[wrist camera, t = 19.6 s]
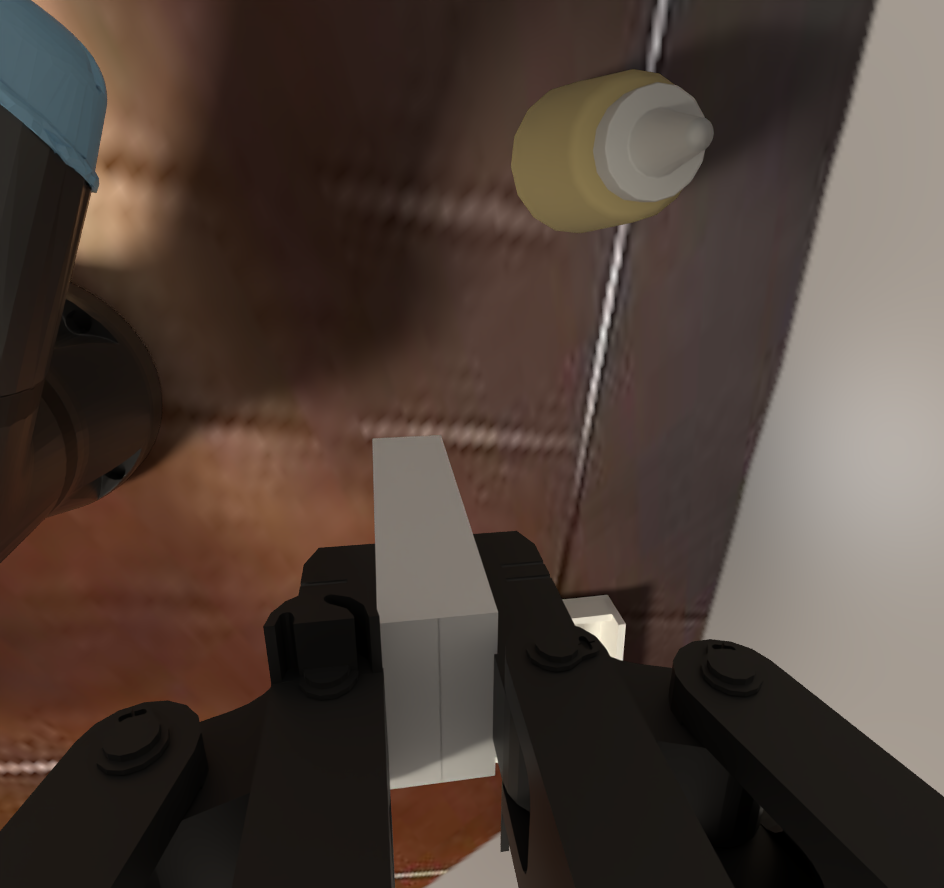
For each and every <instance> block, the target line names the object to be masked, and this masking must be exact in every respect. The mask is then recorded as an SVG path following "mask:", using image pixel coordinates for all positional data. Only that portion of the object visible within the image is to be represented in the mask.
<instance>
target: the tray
mask: <svg viewBox="0 0 944 888" xmlns="http://www.w3.org/2000/svg"><path fill="white" fill-rule="evenodd" d="M563 602H564V604H565V606H566V608H567V610H568V612H569V614H570V616H571V618H572V620H573V622H574V624H575V626H578V627H581V628H583V629H584V630H586V631H588V632H590V633H591V634H593V635H595V636H596V637H597V638H598V639H599V641H600V642H601V643H602V644H603V645H604V646H605V648H606V649H607V651H608V653H609V655H610V656H611V657H613V658H616V659H619V660H622V661H623V651H624V640H625V629H626V623H625V622H624V620H623V619H622V617H621V615H620V614H619V612H618V611H617V609H616V607H615V606H614V604H613V603H612V601H611V599H610V598H609V596H608V595H600V596H591V597H581V598H572V599H563ZM497 762H498V760H497V755H496V751H495V763H497Z"/></svg>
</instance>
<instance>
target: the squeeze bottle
mask: <svg viewBox="0 0 944 888" xmlns="http://www.w3.org/2000/svg"><path fill="white" fill-rule="evenodd" d="M713 135H714V131H713V126H712V124H711V122H710V121H709V120H707V119H706V118H705V117H704V115H703V113H702V111H701V110H700V108H699V106H698V104H697V102H696V100H695V99H694V97H692V96H691V95H690V94H688V93H687V92H686V91H684V90H683V89H682V88H680V87H679V86H678V85H674V84H673V83H672V82H670V81H669V80H668V79H666V78H665V77H663V76H662V75H661V74H659V73H653V72H647V71H641V70H635V69H632V70H627V71H623V72H619V73H614V74H610V75H605V76H601V77H596V78H592V79H587V80H583V81H578V82H575V83H572V84H568V85H565V86H562V87H559V88H555V89H552V90H550V91H549V92H548V93H546V94H545V95H544V96H543V97H542V98H541V99H540V100H538V101H537V102H536V103H535V104H534V105H533V106H532V107H530V108H529V109H528V111H527V113H526V115H525V117H524V119H523V121H522V123H521V125H520V127H519V129H518V131H517V133H516V135H515V137H514V145H513V154H512V162H511V169H512V173H513V177H514V181H515V185H516V190H517V194H518V196H519V197H520V199H521V200H522V202H523V203H524V204H525V206H526V207H527V209H528V210H529V211H530V213H531V214H532V216H533V217H534V218H536V219H537V220H539V221H541V222H542V223H544V224H546V225H547V226H549V227H551V228H552V229H554V230H556V231H565V232H574V233H584V232H588V231H593V230H598V229H603V228H608V227H613V226H618V225H623V224H627V223H632V222H635V221H639V220H642V219H645V218H648V217H651V216H654V215H657V214H658V213H659V212H660V211H662V210H663V209H664V208H665V207H666V206H668V205H669V204H670V203H671V202H672V201H674V200H675V199H676V198H677V197H678V196H679V194H680V192H681V191H682V189H683V188H684V187H685V186H687V185H688V184H689V183H690V182H691V181H692V179H693V177H694V176H695V174H696V172H697V171H698V169H699V167H700V166H701V164H702V162H703V157H704V153H705V149H706V148H707V147H708V146H709V145H710V143H711V142H712V140H713Z"/></svg>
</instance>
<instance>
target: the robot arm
mask: <svg viewBox="0 0 944 888" xmlns="http://www.w3.org/2000/svg"><path fill="white" fill-rule="evenodd" d="M106 107H107V91H106V85H105V81H104V78H103V75H102V73H101V71H100V68H99V67H98V65H97V63H96V62H95V60H94V58H93V56H92V55H91V54H90V52H89V51H88V50H87V49H86V48H85V46H84V45H83V44H82V43H81V42H80V41H79V40H78V39H77V38H76V37H75V36H74V35H73V34H72V33H71V32H70V31H69V30H68V29H67V28H65V27H64V26H63V25H62V24H61V23H60V22H58V21H57V20H56V19H55V18H54V17H52V16H51V15H50V14H48V13H47V12H46V11H45V10H43V9H42V8H41V7H39V6H38V5H37V4H35V3H34V2H33V1H31V0H0V563H1V562H2V561H3V560H4V559H5V558H6V557H7V556H8V555H9V554H10V553H11V552H12V551H13V550H14V549H15V548H16V547H17V546H18V545H19V544H20V543H21V542H22V541H23V540H24V539H25V538H26V537H27V536H28V535H29V534H30V533H31V532H32V531H33V530H34V529H35V528H36V527H37V526H38V525H39V524H40V523H41V522H42V521H43V520H44V519H45V518H47V517H50V516H54V515H57V514H60V513H63V512H67V511H70V510H73V509H77V508H80V507H83V506H85V505H88V504H90V503H93V502H95V501H97V500H99V499H101V498H102V497H104V496H106V495H108V494H109V493H111V492H112V491H113V490H115V489H116V488H118V487H119V486H120V485H121V484H122V483H124V482H125V481H126V480H127V479H128V478H129V477H130V475H131V474H132V473H133V472H134V471H135V470H136V469H137V467H138V466H139V465H140V464H141V463H142V462H143V460H144V459H145V458H146V456H147V455H148V453H149V452H150V450H151V448H152V446H153V444H154V442H155V440H156V437H157V434H158V431H159V427H160V423H161V416H162V394H161V387H160V383H159V378H158V375H157V372H156V369H155V366H154V364H153V361H152V359H151V357H150V355H149V353H148V351H147V350H146V348H145V346H144V344H143V343H142V341H141V340H140V339H139V337H138V336H137V334H136V333H135V332H134V331H133V329H132V328H131V327H130V326H129V325H128V324H127V323H126V321H125V320H124V319H123V318H122V317H121V316H120V315H119V314H118V313H116V312H115V311H114V310H113V309H112V308H111V307H109V306H108V305H107V304H105V303H104V302H103V301H101V300H100V299H98V298H97V297H95V296H94V295H92V294H91V293H89V292H87V291H85V290H84V289H82V288H80V287H78V286H76V285H74V284H71V283H70V279H71V275H72V271H73V267H74V263H75V258H76V254H77V250H78V246H79V242H80V238H81V233H82V229H83V225H84V221H85V217H86V213H87V208H88V204H89V200H90V196H91V192H93V193H97V190H98V187H99V177H98V176H97V174H96V172H95V168H96V163H97V157H98V151H99V145H100V140H101V135H102V129H103V124H104V118H105V113H106ZM373 477H374V516H375V544H364V545H351V546H338V547H324V548H318V549H317V551H316V552H315V553H314V554H313V555H312V556H311V557H310V558H309V559H308V561H307V562H306V563H305V564H304V567H303V573H302V578H301V587H300V590H299V596H297V597H295V598H292V599H290V600H288V601H285V602H284V603H283V604H282V605H280V606H279V607H278V608H277V609H275V610H274V611H273V612H272V613H271V614H270V616H269V617H268V619H267V621H266V623H265V625H264V626H263V628H264V635H265V642H266V649H267V656H268V663H269V670H270V678H271V688H270V689H269V690H268V691H267V692H265V693H264V694H263V695H262V696H260V697H258V698H257V699H255V700H254V701H252V702H250V703H249V704H247V705H244V706H242V707H240V708H237V709H235V710H233V711H230V712H227V713H225V714H222V715H219V716H216V717H213V718H210V719H207V720H204V721H201V722H199V717H198V715H197V714H196V713H195V712H193V711H192V710H191V709H190V708H189V707H188V706H187V705H184V704H179V703H175V702H171V701H156V702H144V703H141V704H138V705H135V706H132V707H129V708H126V709H122V710H119V711H117V712H116V713H114V714H112V715H110V716H109V717H107V718H105V719H103V720H102V721H100V722H98V723H96V724H95V725H94V726H92V727H91V728H90V729H89V730H88V731H87V732H86V733H85V734H84V735H83V736H82V737H80V738H79V739H78V740H77V741H76V742H75V743H74V744H73V745H72V747H71V748H70V749H69V750H68V751H67V753H66V754H65V755H64V756H63V757H62V759H61V760H60V761H59V762H58V763H57V764H56V766H55V767H54V768H53V769H52V770H51V772H50V773H49V774H48V775H47V776H46V778H45V779H44V780H43V781H42V782H41V783H40V785H39V786H38V787H37V788H36V789H35V791H34V792H33V793H32V794H31V795H30V797H29V798H28V799H27V800H26V801H25V802H24V804H23V805H22V806H21V807H20V808H19V810H18V811H17V812H16V813H15V814H14V815H13V817H12V818H11V819H10V820H9V821H8V823H7V824H6V825H5V826H4V827H3V829H2V830H1V831H0V888H395V879H394V856H393V834H392V815H391V799H390V789H396V788H404V787H411V786H419V785H426V784H434V783H441V782H449V781H456V780H464V779H471V778H479V777H486V776H494V775H495V751H496V755H497V760H498V764H499V768H500V772H501V777H502V804H501V852H503V851H509V846H510V850H511V855H512V859H513V864H514V869H515V873H516V877H517V882H518V887H519V888H944V797H943V796H942V795H941V794H940V793H938V792H937V791H936V790H934V789H933V788H932V787H931V786H929V785H928V784H927V783H926V782H924V781H923V780H922V779H920V778H919V777H918V776H917V775H916V774H914V773H913V772H912V771H910V770H909V769H908V768H907V767H905V766H904V765H903V764H902V763H900V762H899V761H898V760H896V759H895V758H894V757H893V756H891V755H890V754H889V753H887V752H886V751H885V750H883V748H881V747H880V746H879V745H877V744H876V743H875V742H873V741H872V740H871V739H870V738H869V737H867V736H866V735H865V734H863V733H862V732H861V731H859V730H858V729H857V728H856V727H855V726H853V725H852V724H851V723H849V722H848V721H847V720H846V719H844V718H843V717H842V716H841V715H839V714H838V713H837V712H835V711H834V710H833V709H832V708H830V707H829V706H828V705H827V704H825V703H824V702H823V701H822V700H820V699H819V698H818V697H817V696H815V695H814V694H813V693H811V692H810V691H809V690H808V689H806V688H805V687H804V686H803V685H801V684H800V683H799V682H797V681H796V680H795V679H794V678H792V677H791V676H790V675H789V674H787V673H786V672H785V671H784V670H782V669H781V668H779V667H778V666H777V665H776V664H774V663H773V662H772V661H771V660H769V659H768V658H766V657H764V656H763V655H761V654H759V653H758V652H756V651H754V650H753V649H750V648H748V647H745V646H742V645H739V644H736V643H733V642H729V641H720V640H712V639H709V640H702V641H694V642H691V643H689V644H688V645H686V646H684V647H682V648H680V649H679V651H678V653H677V655H676V656H675V658H674V660H673V667H672V668H667V667H659V666H651V665H643V664H636V663H631V662H626V661H622V660H619V659H616V658H613V657H611V656H610V655H609V653H608V651H607V649H606V648H605V646H604V645H603V644H602V643H601V642H600V641H599V639H598V638H597V637H596V636H595V635H593V634H591V633H590V632H588V631H586V630H584V629H583V628H581V627H578V626H575V624H574V622H573V620H572V618H571V616H570V614H569V612H568V610H567V608H566V606H565V604H564V602H563V600H562V598H561V596H560V594H559V592H558V590H557V588H556V586H555V584H554V582H553V580H552V578H550V574H549V572H548V570H547V568H546V566H545V564H543V560H542V558H541V556H540V554H539V552H538V550H537V548H536V546H535V544H534V543H532V542H531V541H530V540H528V539H527V538H526V537H524V536H523V535H521V534H520V533H519V532H517V531H509V532H496V533H482V534H473V533H472V530H471V527H470V524H469V521H468V518H467V515H466V512H465V508H464V505H463V502H462V499H461V496H460V493H459V490H458V487H457V484H456V481H455V478H454V474H453V471H452V468H451V465H450V462H449V459H448V456H447V453H446V450H445V447H444V444H443V441H442V437H441V435H435V436H415V437H396V438H377V439H373Z"/></svg>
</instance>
